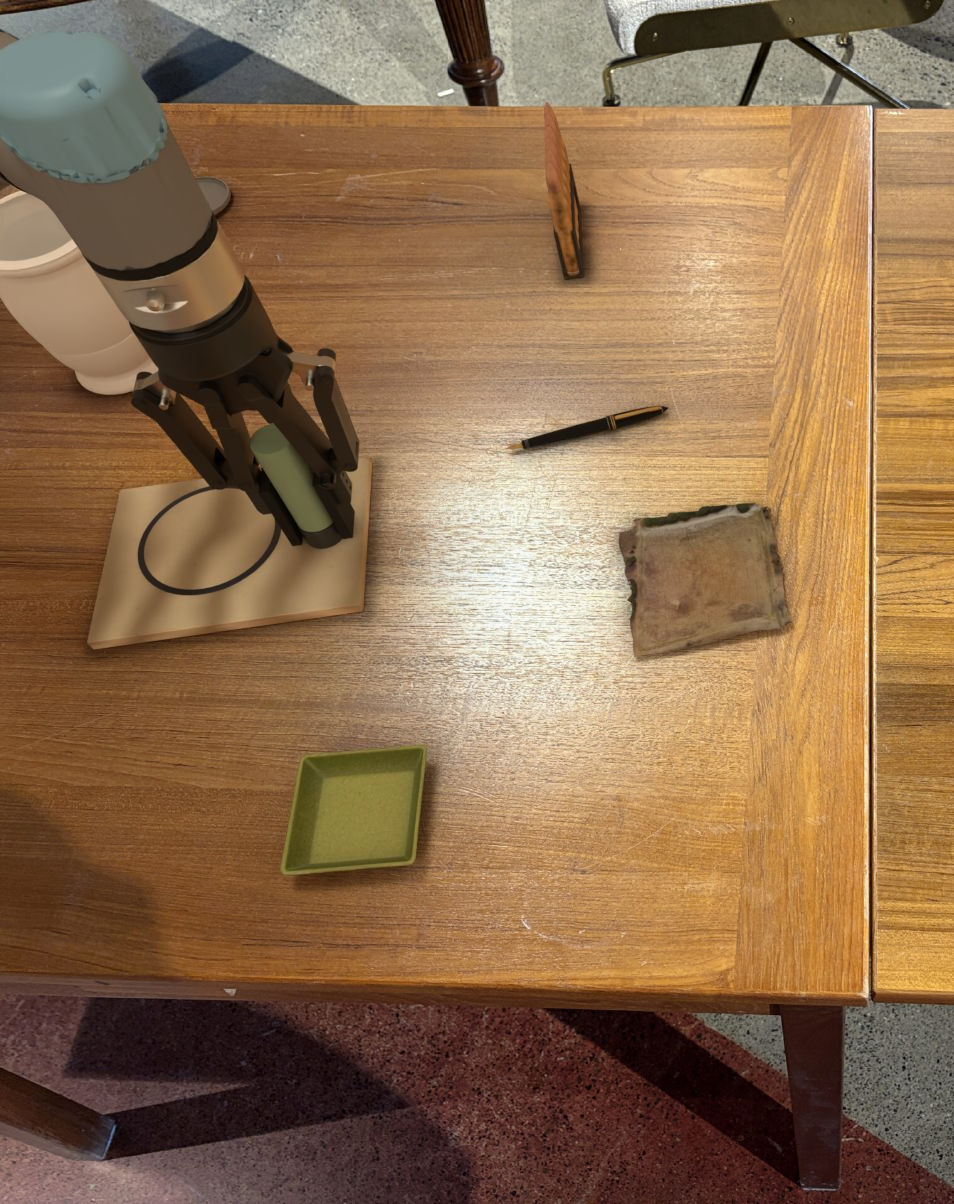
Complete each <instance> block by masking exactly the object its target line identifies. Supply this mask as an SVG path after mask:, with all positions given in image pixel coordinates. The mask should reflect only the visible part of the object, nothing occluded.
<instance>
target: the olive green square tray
mask: <svg viewBox="0 0 954 1204" xmlns="http://www.w3.org/2000/svg"><path fill="white" fill-rule="evenodd" d="M427 755H428V748H427V746H426V745H424V744H417V745H416V744H415V745H413V744H412V745H404V746H403V745H402V746H392V747H390V746H389V747H381V748H370V749H358V750H346V751H333V752H318V753H317V752H316V753H308V754H304V755H302V756H301V758H300V760H299V762H298V766H297V773H296V778H295V785H294V792H293V797H292V801H291V802H292V803H291V808H290V812H289V819H288V824H287V830H286V835H285V839H284V844H283V851H282V857H281V863H280V868H279V869H280V873H281V874H282V875H283V876H297V875H298V876H299V875H309V874H321V873H334V872H345V871H355V870H367V869H379V868H390V867H391V868H392V867H403V866H411V865H413V864H414V863H415V861H416V858H417V851H418V850H417V848H418V839H419V829H420V821H421V819H420V818H421V810H422V800H423V793H424V782H425V774H426V766H427V765H426V764H427Z"/></svg>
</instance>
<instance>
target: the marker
mask: <svg viewBox="0 0 954 1204" xmlns="http://www.w3.org/2000/svg"><path fill="white" fill-rule="evenodd" d="M250 438H251V439H250V448H251V450H252V452H253V453H254V455H255V456H256V458H257V460H258V461H259V466H261V469H262V468H263V469H264V471H265V473H266V474H267V476H268V478H269V479H270V481H271V482H272V484H273V486H274V487H275V489H276V490H277V492H278V494H279V495H280V497H281V499H282V500H283V502H284V503H285V505H286V507H287V508H288V510H289V512H290V513H291V515H292V516H293V518H294V520H295V521H296V524H297V527H298V529H299V530H300V532H301V534H302V535H303V537H304V538H305V540H306V542H307V543H308V544H309V545H310V546H312V547H314V548H317V549H325V548H329V547H332V546H334V545H336V544H338V543H339V542H340V541H341V540H342V539H343V538H342V536H341V535H340V533H339V531H338V529H337V528H336V526H335V524H334V522H333V521H332V519H331V517H330V516H329V514H328V512H327V510H326V509H325V507H324V505H323V503H322V502H321V500H320V498H319V496H318V495H317V493H316V491H315V490H314V488H313V486H312V484H313V474H314V471H313V470H312V468H311V467H310V466H309V465H308V464H307V463H306V461H305V460H304V459H303V458H302V457H301V455H300V454H299V453H298V452H297V451H296V450H295V448H294V447H293V446H292V445H291V444H290V442H289V441H288V440H287V439H286V438H285V437H284V435H283V434H282V433H281V432H280V431H279V429H278V428H277V427H276V426H275V425H274V424H273V423H272V424H267V425H264V426H261V427H259V428H258V429H257V430H256V431H254V433H253V434H252V435H251V436H250Z"/></svg>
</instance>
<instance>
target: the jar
mask: <svg viewBox="0 0 954 1204" xmlns="http://www.w3.org/2000/svg"><path fill="white" fill-rule="evenodd" d="M0 300H1V301H2V303H3V304H4V307H6V309H7V311H8V312H9V313H10V314H11V316H12V317H13V318H14V319H15V320H16V321H17V323H18V324H19V325H20V326H21V327H22V328H23V329H24V330H25V331H26V332H27V333H28V334H29V335H30V336H31V337H32V338H33V339H34V340H35V341H36V342H38V343H39V344H40V345H41V346H42V347H43V348H44V349H45V350H46V351H47V352H48V353H49V354H50V355H51V356H53V358H55V359H56V360H57V361H59V362H60V363H61V364H63V365H64V366H66V367H67V368H69V369H71V370H72V371H74V373H75V377H76V380H77V381H78V382H79V384H80V385H81V386H82V387H83V388H84V389H86V390H87V391H89V392H91V393H94V394H99V395H104V396H105V395H106V396H116V395H123V394H127V393H132V392H133V390H134V385H135V381H136V377H137V374H138V373H139V372H142V371H146V372H150V373H152V374H154V373H155V372H157V371H158V367H157V366H156V365H155V364H154V363H153V361H152V360H151V358H150V357H149V355H148V354H147V352H146V351H145V349H144V348H143V346H142V345H141V343H140V341H139V340H138V338H137V337H136V335H135V334H134V332H133V331H132V329H131V327H130V325H129V321H128V320H127V319H126V318H125V317H124V316H123V314H122V313H121V312H120V310H119V309H118V307H117V306H116V304H115V303H114V301H113V300H112V298H111V297H110V295H109V294H108V292H107V291H106V289H105V288H104V286H103V285H102V283H101V282H100V280H99V279H98V277H97V276H96V274H95V273H94V271H93V270H92V268H91V266H90V265H89V263H88V262H87V261H86V259H85V258H84V256H83V255H82V253H81V251H80V250H79V248H78V247H77V245H76V244H75V242H74V241H73V240H72V238H71V237H70V235H69V234H68V232H67V231H66V229H65V228H64V226H63V225H62V224H61V222H60V221H59V219H58V218H57V216H56V215H55V213H54V212H53V211H52V210H51V209H50V208H49V207H48V205H46V204H45V203H44V202H43V201H42V200H40V199H38V198H36V197H34V196H33V195H30V194H28V193H25V192H23V191H21V190H18V191H16V192H13V193H11V194H8V195H6V196H4V197H1V198H0Z"/></svg>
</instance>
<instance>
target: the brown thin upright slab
mask: <svg viewBox="0 0 954 1204" xmlns="http://www.w3.org/2000/svg"><path fill="white" fill-rule="evenodd" d="M543 111H544V112H543V117H544V118H543V119H544V143H545V144H544V152H545V155H544V156H545V158H544V160H545V161H544V163H545V183H546V189H547V195H548V204H549V205H548V206H549V211H550V215H551V219H552V225H553V237H554V241H555V245H556V250H557V254H558V258H559V263H560V267H561V271H562V275H563V279H564V280H568V279H569V280H570V279H578V278H584V277H585V269H584V252H583V248H584V247H583V232H582V231H583V229H582V211H581V208H582V207H581V204H580V199H579V194H578V190H577V185H576V181H575V176H574V172H573V166H572V164H571V163H570V160H569V157H568V152H567V147H566V144H565V141H564V138H563V137H562V132H561V130H560V125H559V121H558V119H557V116H556V114H555V111H554V109H553V107H552V106H551V104H550V103H549V102H548V101H546V102H545V104H544V109H543Z"/></svg>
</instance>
